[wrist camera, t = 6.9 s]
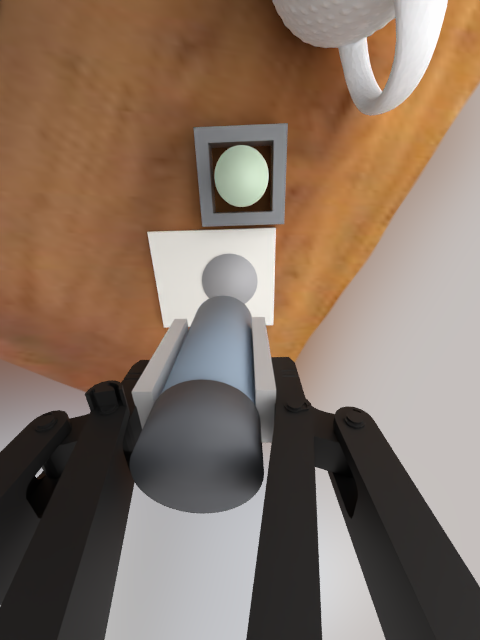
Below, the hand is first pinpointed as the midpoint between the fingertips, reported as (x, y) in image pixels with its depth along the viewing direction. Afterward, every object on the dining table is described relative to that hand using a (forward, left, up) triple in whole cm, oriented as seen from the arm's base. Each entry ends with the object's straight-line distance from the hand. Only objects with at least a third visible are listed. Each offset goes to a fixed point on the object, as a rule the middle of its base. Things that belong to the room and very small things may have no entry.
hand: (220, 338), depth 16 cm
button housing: (-9, +1, -12) cm, 15 cm away
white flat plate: (0, -2, -12) cm, 12 cm away
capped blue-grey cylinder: (0, 0, -2) cm, 2 cm away
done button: (-9, +1, -10) cm, 14 cm away
